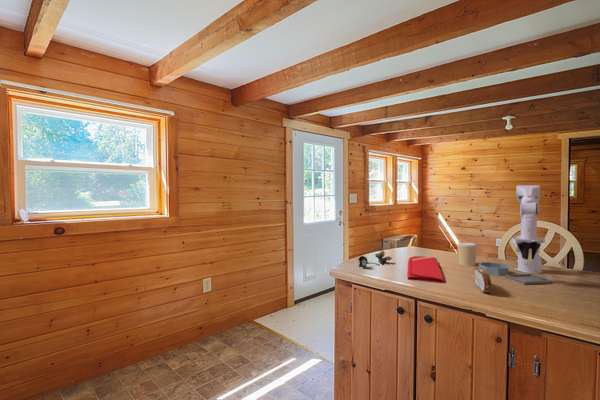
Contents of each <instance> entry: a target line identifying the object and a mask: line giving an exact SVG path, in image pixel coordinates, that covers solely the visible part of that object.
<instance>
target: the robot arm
mask: <svg viewBox="0 0 600 400" xmlns="http://www.w3.org/2000/svg"><path fill="white" fill-rule="evenodd" d="M515 197H516V200H517V201H516V202H517V203H519V204H520V205H519V206H520V208H519V213H520V219H521V220H520V222H521V223H520V234H519V235H517V236H516V238H512V240H511V243H512V244H515V245H514V246H515V248H514V251H515V252H516V253H517V267H515V268H514V267H513V269H514V270H517V271H520V272H523V273H525V274H530V273H535V274H539V273H540V274H542V273H544V272H543V271H542V265H543V264H542V262H543V261H542V257H541V255H539V254H540V247H541V246H542V245H541V244H546V239H545V238H544V237H537V235H538V234H537V233H538V232H537V231H538V228H537V227H538V225H537V224H538V215H539V208H540V207H539V206H540V205H539V201H540V197H541V186H540V185H539V184H537V185H536V184H534V185H533V184H532V185H531V184H530V185H529V184H528V185H525V184H524V185H519V184H518V185H517V186H516V194H515ZM530 248H531V249H532V265H531V266H528V265H525V259H528V253H529V249H530Z"/></svg>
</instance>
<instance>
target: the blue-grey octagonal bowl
mask: <svg viewBox="0 0 600 400" xmlns="http://www.w3.org/2000/svg"><path fill="white" fill-rule="evenodd" d="M478 268H483V269H485V270H486V271H487V272H488V273H489V275H491V276H492V275H493V276H498V277H499V276H501V277H502V276H505V275H510V274H509V273H510V265H506V264H503V263H499V262H491V261H486V262H485V261H483V262H482V261H481V262H480V263H478Z"/></svg>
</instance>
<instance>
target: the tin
mask: <svg viewBox="0 0 600 400" xmlns="http://www.w3.org/2000/svg"><path fill="white" fill-rule="evenodd" d="M490 275H491V274H489V273H488V272H487V271H486V270H485V269H483V268H479V267H475V268H474V282H475V285H476V287H478V289H479V290H480V292H481V293H485V294H491V293H492V285H493V284H492V279H491V276H490Z"/></svg>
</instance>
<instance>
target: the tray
mask: <svg viewBox="0 0 600 400" xmlns="http://www.w3.org/2000/svg"><path fill="white" fill-rule="evenodd" d="M504 277H505V278H507V279H509V280H513V281H515V282H518V283H521V284H523V285H524V286H538V285H539V286H540V285H545V284H547V285H552V284H553V281H552V280H551V279H548V278H546V277H542V276H539V275H536V274H532V273H516V274H513V273H512V274H508V275H504Z"/></svg>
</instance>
